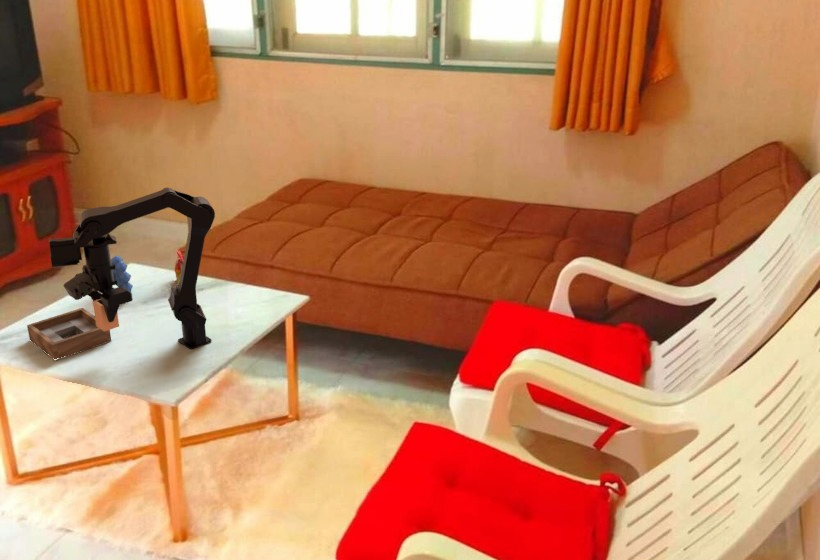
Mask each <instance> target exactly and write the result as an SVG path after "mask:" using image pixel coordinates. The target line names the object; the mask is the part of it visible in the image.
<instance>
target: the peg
mask: <svg viewBox="0 0 820 560" xmlns="http://www.w3.org/2000/svg"><path fill="white" fill-rule="evenodd" d="M98 300H101V299H98ZM98 300H94V301H93V300H92V308H93V313H94V314H93V315H94V316H95V320H96V326H97V327H98V328H100V329H101V330H103V331H107V330H110V331H111V330H113V329H116V328H120V324H119V323H120V322H119V316H118V313H117V314H116V316H115V319H114V321H113V322H109V321H108V319H107V316H106V312H105V309H104V306H103V305H102V304H100V303H99V302H97V301H98Z"/></svg>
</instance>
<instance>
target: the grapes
mask: <svg viewBox="0 0 820 560" xmlns="http://www.w3.org/2000/svg"><path fill="white" fill-rule="evenodd" d="M111 263H112V264H114V265H115V269H113V270H112V271H113V278H114V279H116V280H117V284H116V285H115V286H116V287H123V288H124V289H126V290H128V291H129V292H131V293H132V290H133V287H134V286H133V284H131V282H130V281H131V277H132V275H131V274H130V273H129V272H127V269H128V265H127V264H126V263H125V262H124V259H123V258H122V257H121V256H119V255H115V256H113V257H112V258H111Z"/></svg>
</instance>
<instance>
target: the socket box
mask: <svg viewBox="0 0 820 560" xmlns="http://www.w3.org/2000/svg"><path fill="white" fill-rule="evenodd" d="M26 327H27V332H28V333H27V334H28V338H29V341H30V340H31V341H32V342H31V341H30V342H31V343H32V344H34V343H35V344H36V345H37V346H36V345H35V344H34V345H35V346H36V347H38V346H39V347H40V348H41V349H42V350H44V351H45V352H46V353H47V354H49V355H50V356H51V357H52V358H54V359H57V358H61V357H64V356H67V357H69V356H68V355H70V356H72V355H71V354H73V355H75V354H74V353H76V354H78V353H77V352H79V353H81V352H80V351H82V352H84V351H87V350H89V349H93V348H95V347H98V346H101V345H103V344H107V343H110V342H112V336H111V329H110V330H107V331H103V330H101V329H100V328H98V327H97V326H96V320H95V314H93V313H91V312H90V311H88V310H87V309H85V308H84V307H80V308H77V309H74V310H71V311H68V312H64V313H60V314H57V315H55V316H52V317H48V318H45V319H42V320H40V321H39V320H38V321H35V322H33V323H29V324H27V325H26ZM67 336H68V337H67ZM64 337H65V338H64ZM39 347H38V348H39ZM40 348H39V349H40ZM41 349H40V350H41ZM42 350H41V351H42ZM83 350H84V351H83ZM44 351H43V352H44ZM45 352H44V353H45ZM46 353H45V354H46ZM47 354H46V355H47ZM49 355H48V356H49ZM50 356H49V357H50ZM51 357H50V358H51ZM52 358H51V359H52ZM54 359H53V360H54Z"/></svg>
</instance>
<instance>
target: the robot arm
mask: <svg viewBox="0 0 820 560" xmlns="http://www.w3.org/2000/svg"><path fill="white" fill-rule="evenodd" d="M165 209H172V210H174V211H176V212H178V213H180V214H181V215H183V216H185V217H186V218H187V219H186V220H187V238H186V243H185V244H186V245H185V248H184V249H185V250H184V254H183V256H184V260H183V265H182V271H181V277H180V282H179V284H177V285H176V287H174V286H170V295H169V297H168V299H167V301H168V304H169V306H170V308H171V311H172V313H173V315H174V318H175V319H176V320H177V321H179V322H181V332H182V337H180V338H178V339H177V342H179V343H181V344H182V345H183V346H185V347H187V348H188V349H189V350H194V349H196V348H199V347H201V346H203V345H206V344H208V343H211V342H212V338H210V337H209V336H207V333H206V322H207V318H206V315H205V313H204V311H203V308H202V307H201V305H200V304H199V303H198V298H197V289H196V288H197V282H198V277H199V272H200V267H201V261H202V256H203V250H204V246H205V245H204V244H205V239H206V236H207V234H208V233H209V232H210V230H211V228H212V226H213V223H214V220H215V217H216V213H215V209H214V208H213V206H212V205H211V203H210V201H209V200H208V199H207V198H206V197H205V196H204V197H203V196H193V195H191V194H188V193H186V192H181V191H178V190H176V189H173V188H171V187H164V188H162V189H160V190H158V191H155V192H152V193H150V194H146V195H144V196H140V197H137V198H135V199H132V200H129V201H126V202H123V203H120V204H117V205H113V206H100V207H99V206H98V207H93V208H91V207H90V208H88V209H85V210H83V211H82V212H81V214H80V216H79V218H78V219H79V220H78V221H79V224H78V226H77V227H76V229H75V230H74V231H73V235H72V237H63V238H56V237H55V238H49V239H48V243H49V253H50V254H49V255H50V263H51V267H52V268H62V267H69V266H70V267H71V266H78V265H79V264H80V263H81V262H80V261H83V255H82V248H83V253H84V260H85V264H84V265H83V266H82V267H81V270H82V272H80V273H77V274H75V275H74V276H73V277H72V278H71V279H69V280H67V281H66V282H65V283H64V284H63V287H64V289H65V290H66V292H67V294H68V296H69V297H71V298H73V299H74V300H75V301H79V300H81V299H83V298H85V297H86V296H89V297H90V298H91V300H92V302H93V301H94V300H98V299H101V300H98V301H97V302H99V303H100V304H102V305H103V306H104V309H105V312H106V316H107V319H108V321H109V322H113V321H114V319H115V316H116V314H118V311H119V308H120V306H121V305H123V304H124V305H125V304H127V303H130V302H133V293H132V291H131V292H129V291H128V290H126V289H124V288H123V287H118V286H116V284H117V280H116V279H114V278H113V271H112V270H113V269H115V265H114V264H112V263H111V259H112V258H111V251H110V245H116V244H117V243H118V241H117V239H116V236H115V235H113V234H111V232H113V231H114V230H116V229H117V228H118V227H119V226H121V225H123V224H126V223H128V222H131V221H134V220H137V219H139V218H142V217H144V216H145V217H146V216H148V215H151V214H153V213H154V214H155V213H157V212H159V211H162V210H165ZM114 286H116V287H114Z"/></svg>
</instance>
